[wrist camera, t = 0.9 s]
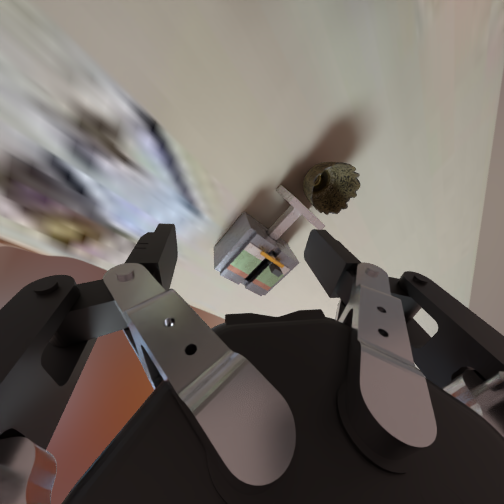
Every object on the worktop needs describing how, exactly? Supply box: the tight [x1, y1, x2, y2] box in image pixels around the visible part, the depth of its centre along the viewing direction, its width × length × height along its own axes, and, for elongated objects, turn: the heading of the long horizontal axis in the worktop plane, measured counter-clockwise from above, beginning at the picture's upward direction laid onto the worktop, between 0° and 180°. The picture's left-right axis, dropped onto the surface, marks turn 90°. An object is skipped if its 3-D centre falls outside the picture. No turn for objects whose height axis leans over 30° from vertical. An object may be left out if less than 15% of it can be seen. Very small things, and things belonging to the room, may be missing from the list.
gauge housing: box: [214, 211, 299, 296], centre depth 37 cm, size 10×12×8 cm
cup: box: [303, 162, 360, 215], centre depth 32 cm, size 8×7×8 cm
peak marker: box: [269, 263, 283, 277], centre depth 33 cm, size 1×2×2 cm, turn 49°
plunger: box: [260, 185, 325, 268], centre depth 34 cm, size 10×8×9 cm
